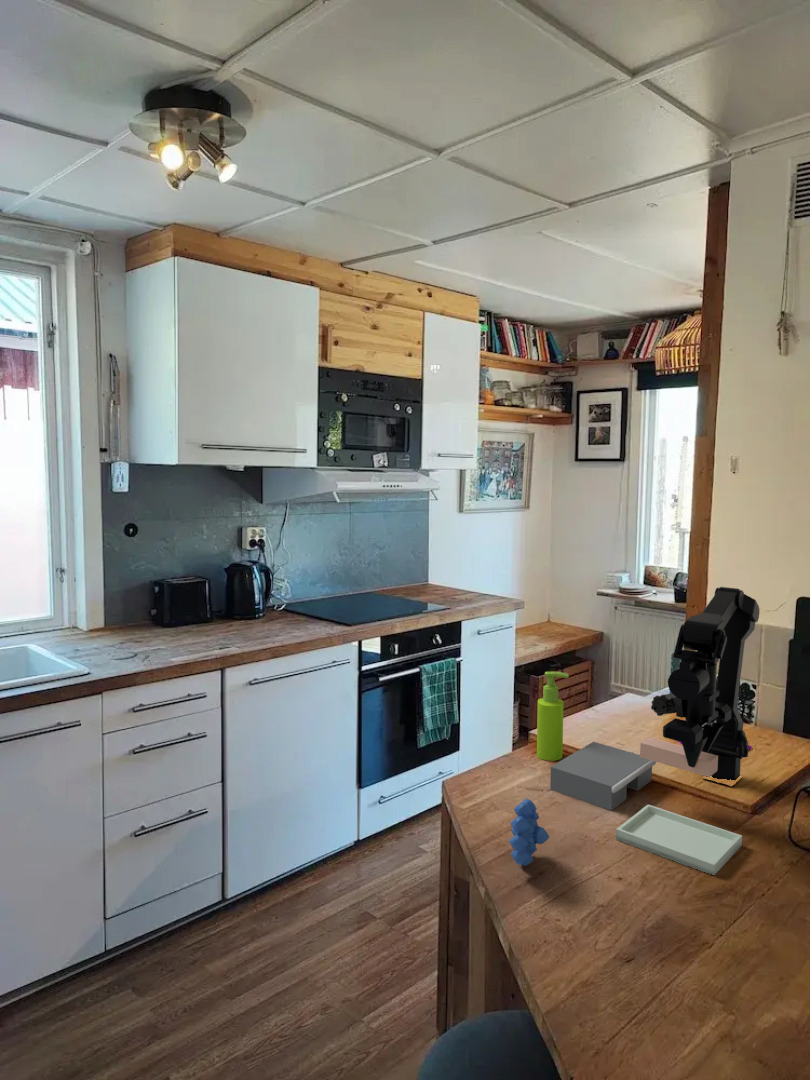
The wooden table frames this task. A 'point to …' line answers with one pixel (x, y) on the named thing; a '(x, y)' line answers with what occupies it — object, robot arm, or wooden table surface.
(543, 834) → the grapes
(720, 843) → the tray
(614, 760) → the block
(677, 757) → the pink bar in dish
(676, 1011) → the wooden table surface
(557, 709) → the soap dispenser
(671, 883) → the wooden table surface
